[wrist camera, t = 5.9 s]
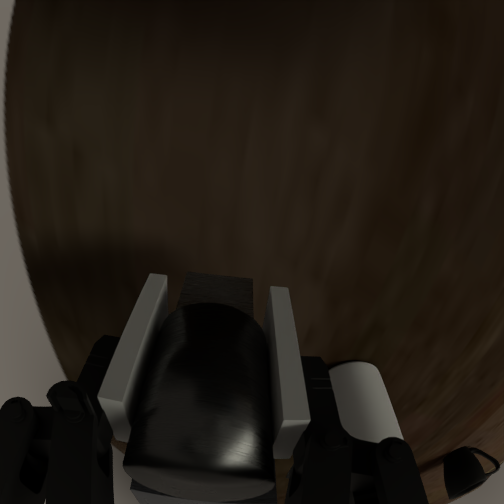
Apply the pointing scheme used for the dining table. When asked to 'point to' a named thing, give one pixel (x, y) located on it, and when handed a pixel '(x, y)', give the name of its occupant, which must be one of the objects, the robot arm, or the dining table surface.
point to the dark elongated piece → (206, 399)
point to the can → (363, 402)
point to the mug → (465, 471)
